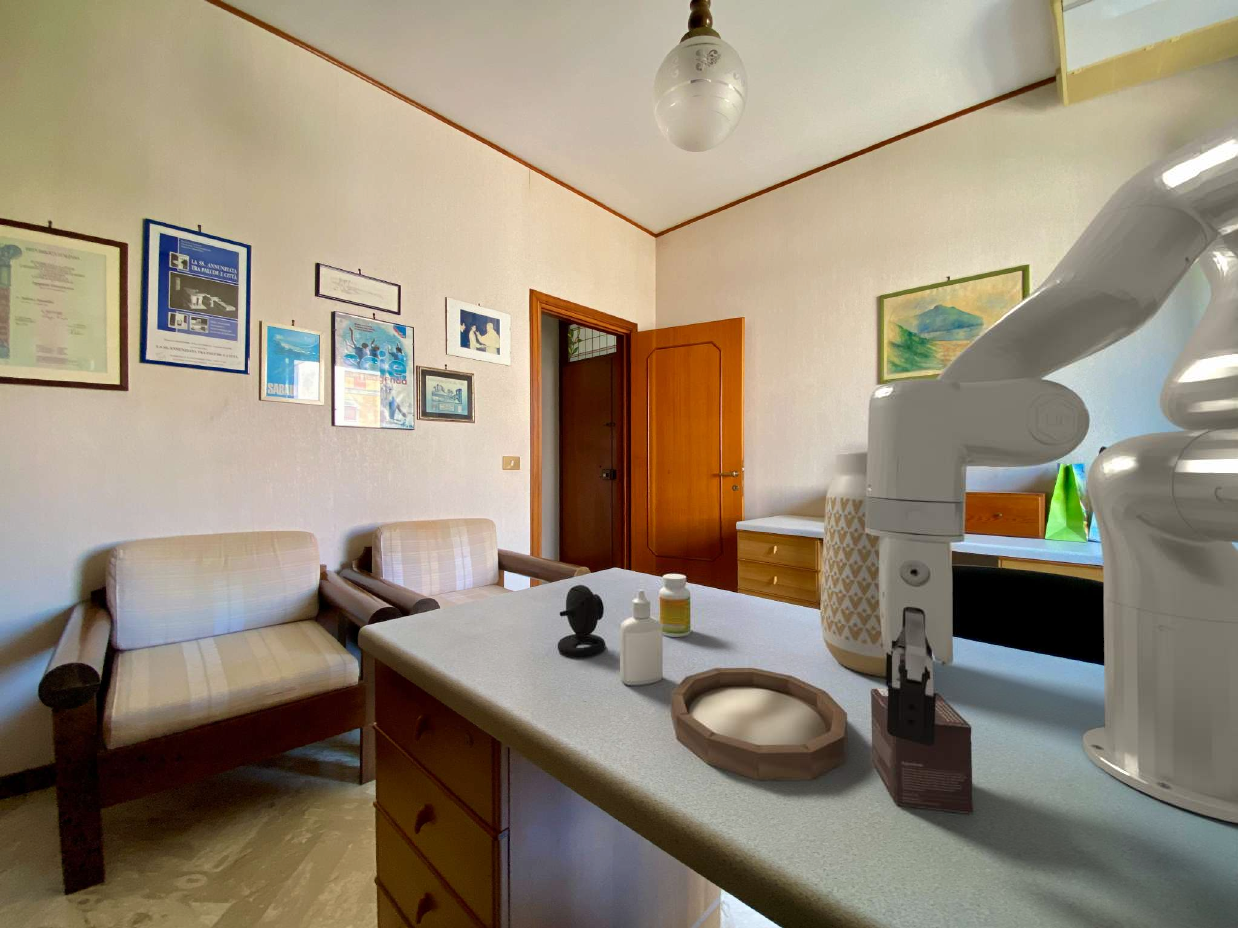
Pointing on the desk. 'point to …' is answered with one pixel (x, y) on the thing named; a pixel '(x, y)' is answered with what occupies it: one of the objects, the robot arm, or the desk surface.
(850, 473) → the vase
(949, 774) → the box
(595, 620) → the webcam
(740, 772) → the round tray
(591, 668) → the desk surface
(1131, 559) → the robot arm
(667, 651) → the desk surface
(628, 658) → the eye dropper bottle
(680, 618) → the supplement bottle
